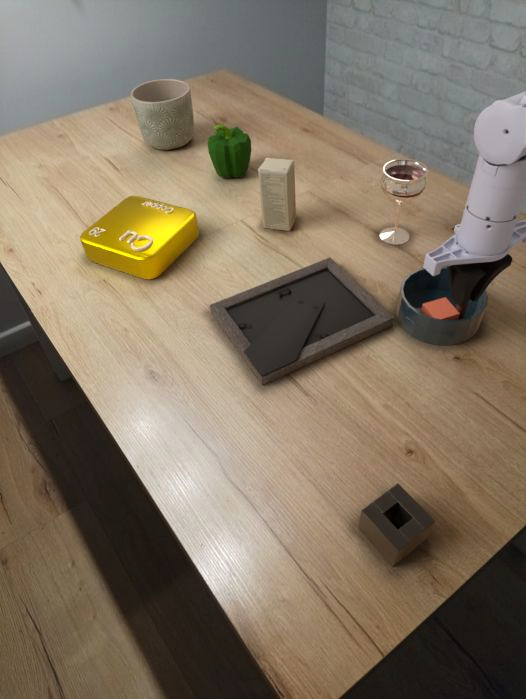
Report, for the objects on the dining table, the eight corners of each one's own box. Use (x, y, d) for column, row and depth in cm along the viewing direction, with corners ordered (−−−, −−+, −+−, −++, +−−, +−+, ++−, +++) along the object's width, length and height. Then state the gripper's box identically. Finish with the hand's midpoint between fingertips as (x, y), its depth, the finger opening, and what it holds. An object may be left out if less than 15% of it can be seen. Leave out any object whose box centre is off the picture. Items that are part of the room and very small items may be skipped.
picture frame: (262, 385, 67) (392, 325, 73) (261, 375, 65) (394, 315, 71) (211, 312, 77) (329, 265, 83) (209, 302, 75) (330, 255, 81)
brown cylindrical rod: (463, 320, 71) (479, 262, 63) (462, 327, 70) (478, 270, 62) (452, 318, 71) (467, 261, 64) (451, 325, 70) (466, 268, 63)
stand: (392, 500, 55) (397, 482, 52) (428, 537, 52) (435, 520, 49) (357, 527, 53) (361, 510, 51) (392, 567, 51) (398, 551, 48)
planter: (133, 153, 112) (120, 101, 104) (153, 127, 120) (143, 77, 112) (187, 156, 110) (178, 103, 102) (204, 130, 118) (197, 79, 110)
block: (454, 331, 71) (460, 313, 68) (431, 338, 70) (436, 320, 67) (440, 315, 73) (445, 296, 70) (418, 321, 72) (422, 303, 70)
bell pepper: (252, 161, 107) (249, 112, 99) (253, 182, 101) (249, 131, 94) (212, 164, 107) (206, 115, 100) (210, 184, 101) (204, 134, 94)
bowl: (482, 298, 76) (491, 275, 72) (474, 353, 69) (483, 330, 65) (404, 283, 79) (408, 260, 75) (389, 334, 72) (393, 311, 68)
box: (296, 218, 92) (296, 159, 84) (289, 232, 89) (288, 173, 81) (268, 214, 93) (265, 156, 85) (261, 227, 91) (257, 169, 82)
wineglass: (378, 221, 90) (386, 156, 81) (417, 227, 88) (431, 161, 79) (370, 244, 86) (378, 177, 77) (411, 250, 84) (425, 183, 75)
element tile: (204, 232, 90) (200, 208, 87) (153, 283, 82) (146, 259, 78) (136, 213, 96) (130, 190, 92) (82, 259, 87) (72, 235, 84)
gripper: (518, 175, 61) (487, 265, 71) (416, 207, 58) (399, 297, 68) (564, 203, 57) (524, 295, 67) (456, 240, 53) (431, 332, 63)
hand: (463, 299), depth 67 cm, fingers closed on brown cylindrical rod, 1 cm apart
